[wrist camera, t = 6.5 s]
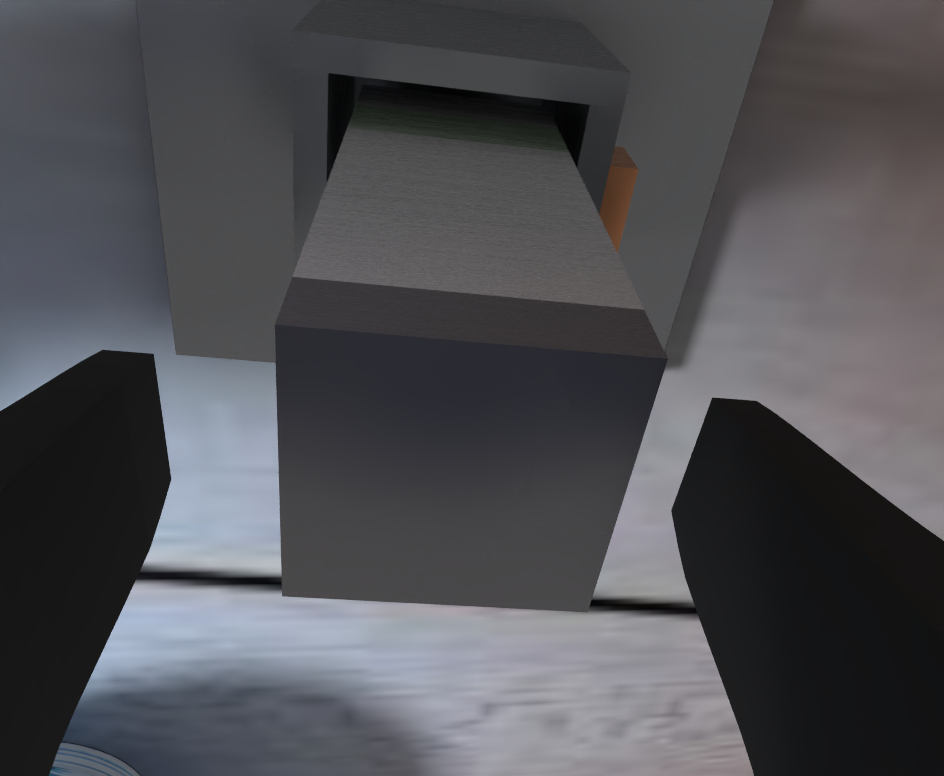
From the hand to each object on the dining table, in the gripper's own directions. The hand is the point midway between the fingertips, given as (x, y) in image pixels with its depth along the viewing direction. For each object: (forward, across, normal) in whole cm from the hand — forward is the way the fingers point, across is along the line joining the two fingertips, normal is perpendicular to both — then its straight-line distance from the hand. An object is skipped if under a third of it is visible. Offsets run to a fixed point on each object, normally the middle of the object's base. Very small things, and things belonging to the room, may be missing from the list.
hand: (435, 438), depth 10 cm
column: (+5, 0, -2) cm, 5 cm away
